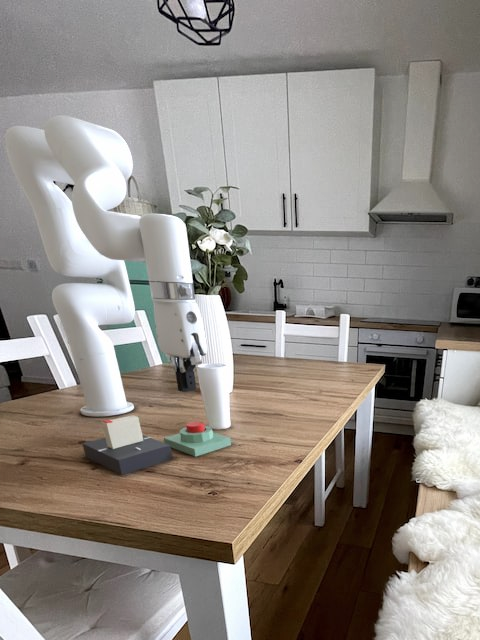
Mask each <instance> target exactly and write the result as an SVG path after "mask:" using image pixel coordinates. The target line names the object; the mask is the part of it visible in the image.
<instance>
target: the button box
mask: <svg viewBox="0 0 480 640" xmlns="http://www.w3.org/2000/svg"><path fill="white" fill-rule="evenodd" d="M204 427H205V431H203V432H200V433H188V432H187V427H186V426H185V427H183V428H181V429H179V433H176V434H173V435H169V436H165V437H163V441H164V442H163V443H166V444H168V445H170V448H171V449H175V450H177V451H180V452H183V453H185V454H188V455H190V456H193V457H196V458H197V457H198V456H199V457H200V456H203V455H205V454H208V453H212V452H214V451H217V450H220V449H224V448H226V447H229V446H231V445H232V439H231V437H229V436H225V435H223V434H220V433H216V432H214V431H213V429H212V428H211V427H209V426H208V425H204Z"/></svg>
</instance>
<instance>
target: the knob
mask: <svg viewBox="0 0 480 640" xmlns="http://www.w3.org/2000/svg"><path fill="white" fill-rule="evenodd" d="M101 426H102V430H103V433H104V434H103V435H104V438H106V442H107V446H108V447H109V448H112V449H115V448H119V447H122V446H126V445H130V444H134V443H137V442H141V441H143V436H142V435H143V431H142V427H141V423H140V418H139V416H137V415H134V414H132V415H127V416H123V417H117V418H113V419H103V420H102V421H101Z"/></svg>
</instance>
